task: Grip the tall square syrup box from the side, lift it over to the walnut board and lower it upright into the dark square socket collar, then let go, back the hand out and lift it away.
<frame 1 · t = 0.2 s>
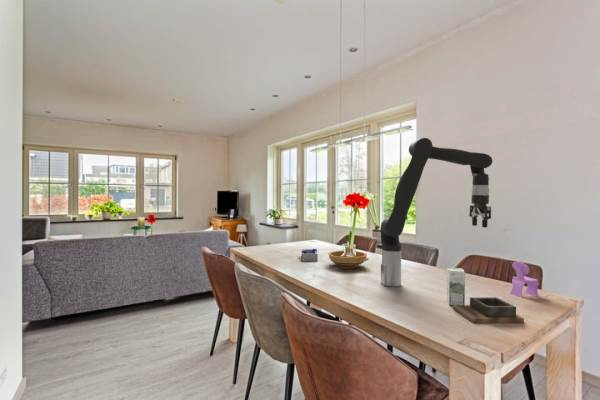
hand: (479, 226, 153), 29 cm above the table, tool pointing down, fingers open, 8 cm apart
desk tidy: (309, 258, 217), on the table
socket block: (491, 315, 112), on the table
toy chair: (524, 295, 136), on the table
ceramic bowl: (347, 266, 192), on the table
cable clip: (308, 258, 217), resting in desk tidy
syrup box: (455, 304, 124), on the table
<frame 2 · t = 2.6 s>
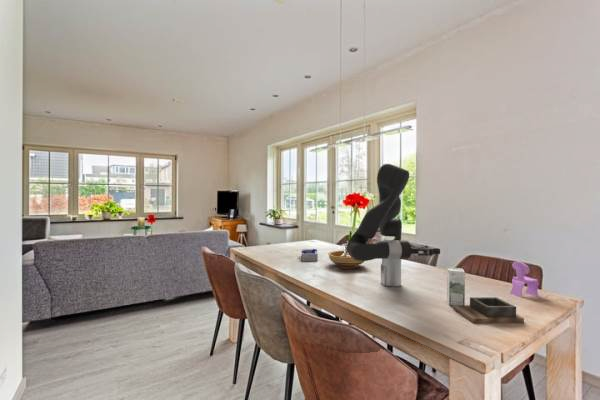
hand: (433, 249, 125), 22 cm above the table, tool horizontal, fingers open, 8 cm apart
nothing on the table moved.
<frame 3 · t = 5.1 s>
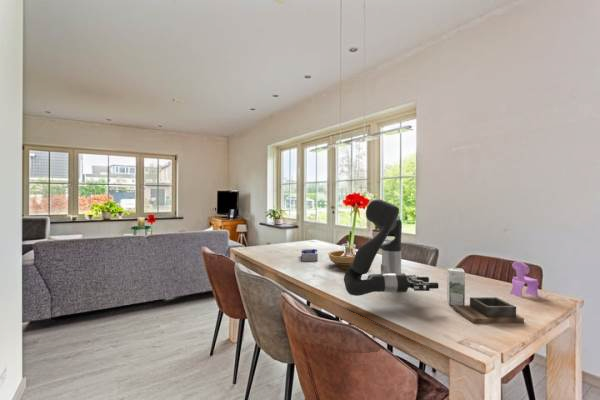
hand: (433, 282, 123), 9 cm above the table, tool horizontal, fingers open, 8 cm apart
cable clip: (308, 258, 216), resting in desk tidy
everything else where it was.
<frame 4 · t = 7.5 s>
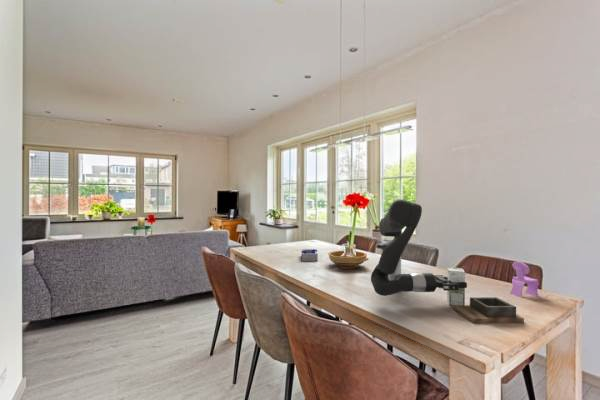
hand: (460, 282, 124), 9 cm above the table, tool horizontal, fingers closed on syrup box, 7 cm apart
syrup box: (455, 304, 124), on the table, touching gripper
everything else where it was.
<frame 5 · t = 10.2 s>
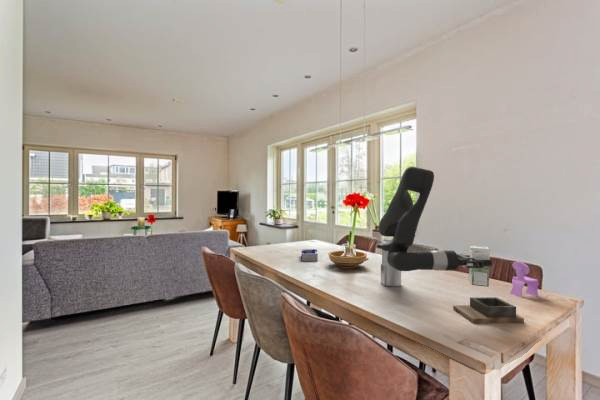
hand: (484, 260, 115), 20 cm above the table, tool horizontal, fingers closed on syrup box, 7 cm apart
syrup box: (478, 284, 115), point 10 cm above the table, touching gripper
everything else where it was.
when the fingers open (11 cm above the table, at t = 13.3 s): syrup box stays where it is, resting on socket block.
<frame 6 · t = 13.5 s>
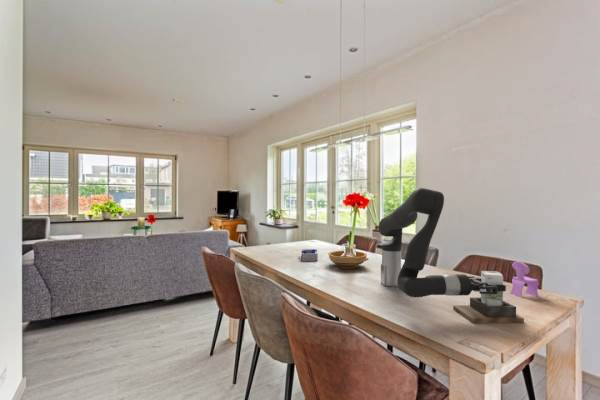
hand: (497, 284, 112), 11 cm above the table, tool horizontal, fingers open, 8 cm apart
syrup box: (491, 312, 112), point 1 cm above the table, touching socket block
everything else where it was.
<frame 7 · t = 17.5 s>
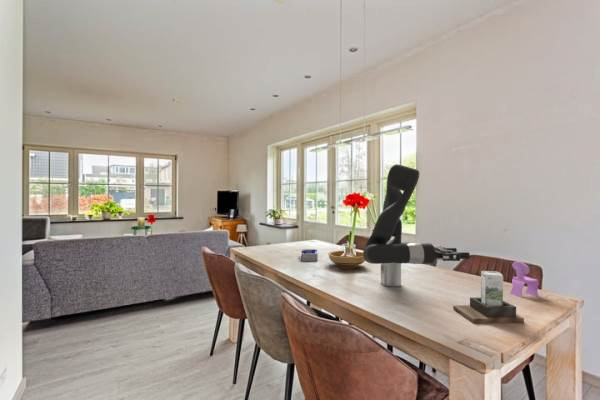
hand: (462, 253, 112), 23 cm above the table, tool horizontal, fingers open, 8 cm apart
nothing on the table moved.
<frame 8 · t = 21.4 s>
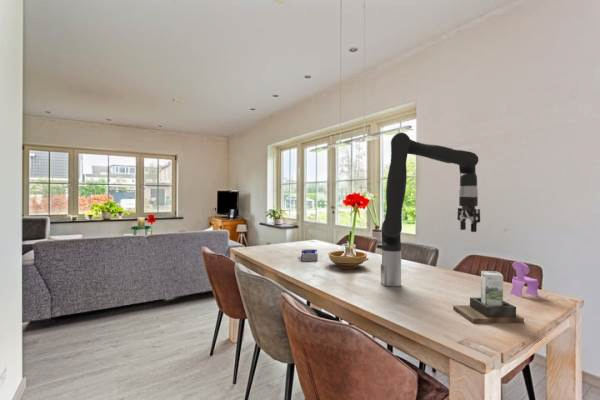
hand: (468, 230, 141), 28 cm above the table, tool pointing down, fingers open, 8 cm apart
nothing on the table moved.
at the end: syrup box 0.2 cm off-centre on the socket block, point 1.3 cm above the socket block's base; syrup box tilted 0°; the gripper is holding nothing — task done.
